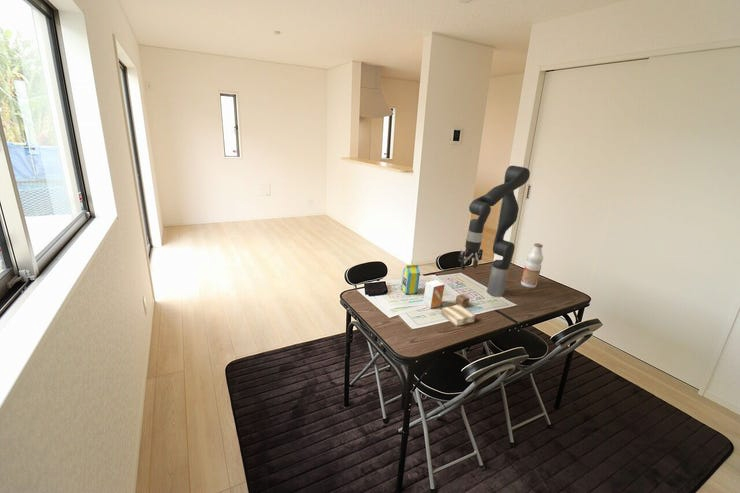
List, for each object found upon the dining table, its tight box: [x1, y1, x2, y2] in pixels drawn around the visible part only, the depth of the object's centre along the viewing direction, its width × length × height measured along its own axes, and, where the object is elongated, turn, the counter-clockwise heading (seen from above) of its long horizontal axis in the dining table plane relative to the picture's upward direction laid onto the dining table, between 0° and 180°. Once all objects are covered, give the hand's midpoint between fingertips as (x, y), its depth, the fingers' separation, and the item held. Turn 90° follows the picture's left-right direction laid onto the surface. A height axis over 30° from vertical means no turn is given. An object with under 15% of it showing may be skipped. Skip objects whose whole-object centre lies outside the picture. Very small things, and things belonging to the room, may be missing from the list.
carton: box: [400, 260, 421, 296], centre depth 200 cm, size 7×8×18 cm
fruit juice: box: [520, 242, 544, 289], centre depth 221 cm, size 9×9×28 cm
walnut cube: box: [454, 294, 470, 308], centre depth 192 cm, size 5×5×5 cm
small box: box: [422, 279, 445, 309], centre depth 188 cm, size 8×6×13 cm
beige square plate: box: [440, 304, 476, 327], centre depth 178 cm, size 12×12×4 cm
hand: (468, 268), depth 185 cm, fingers open, 8 cm apart
